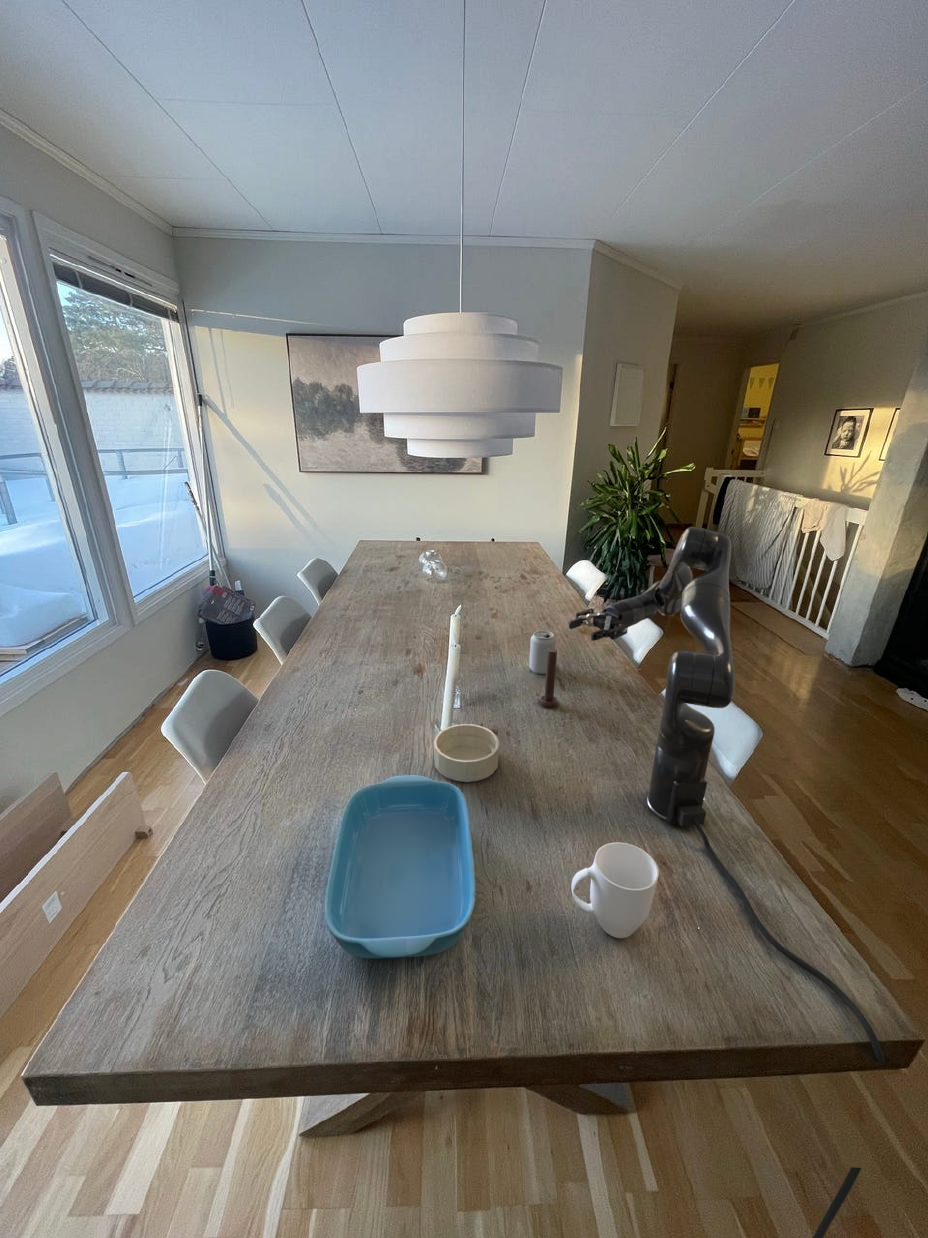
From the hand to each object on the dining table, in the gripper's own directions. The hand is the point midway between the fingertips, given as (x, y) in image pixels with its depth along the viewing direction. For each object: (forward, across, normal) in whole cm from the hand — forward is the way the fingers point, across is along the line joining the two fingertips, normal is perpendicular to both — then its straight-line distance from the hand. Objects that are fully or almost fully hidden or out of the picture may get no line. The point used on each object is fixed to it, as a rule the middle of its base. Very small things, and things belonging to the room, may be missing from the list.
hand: (580, 631), depth 135 cm
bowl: (+43, +10, +14) cm, 47 cm away
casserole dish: (+68, +32, +11) cm, 76 cm away
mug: (+45, +55, +13) cm, 72 cm away
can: (0, -17, +20) cm, 27 cm away
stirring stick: (+11, 0, +18) cm, 21 cm away
